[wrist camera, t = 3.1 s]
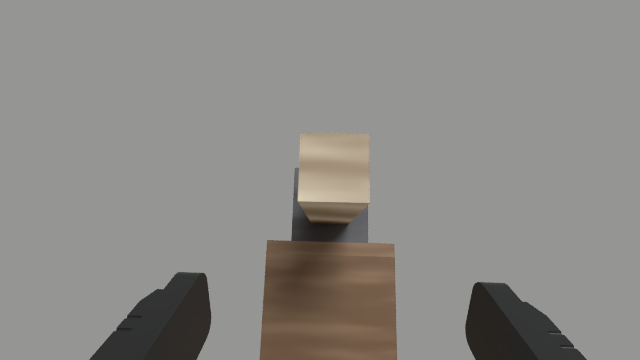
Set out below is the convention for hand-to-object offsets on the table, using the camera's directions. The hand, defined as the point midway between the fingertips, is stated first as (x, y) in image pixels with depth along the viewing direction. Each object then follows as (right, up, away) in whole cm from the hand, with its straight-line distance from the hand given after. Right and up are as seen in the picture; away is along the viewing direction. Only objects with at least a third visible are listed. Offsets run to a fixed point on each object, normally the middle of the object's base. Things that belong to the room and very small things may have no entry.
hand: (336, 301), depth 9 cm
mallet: (0, -1, +16) cm, 16 cm away
